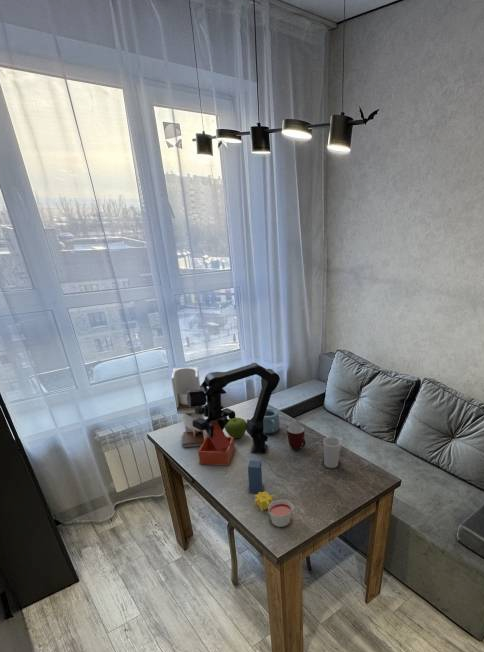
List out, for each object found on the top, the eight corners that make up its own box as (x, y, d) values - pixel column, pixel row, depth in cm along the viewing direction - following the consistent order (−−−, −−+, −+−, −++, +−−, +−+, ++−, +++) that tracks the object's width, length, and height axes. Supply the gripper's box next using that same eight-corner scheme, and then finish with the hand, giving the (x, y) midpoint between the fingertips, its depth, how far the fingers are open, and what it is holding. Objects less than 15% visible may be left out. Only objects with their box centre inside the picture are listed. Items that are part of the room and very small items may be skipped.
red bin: (207, 447, 187) (206, 435, 184) (234, 448, 188) (233, 436, 184) (199, 464, 176) (198, 451, 172) (228, 465, 176) (227, 452, 173)
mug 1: (285, 436, 199) (285, 418, 194) (264, 440, 195) (263, 422, 190) (275, 422, 211) (274, 406, 205) (255, 426, 206) (254, 409, 201)
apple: (250, 432, 201) (249, 415, 196) (242, 443, 192) (240, 425, 187) (230, 429, 203) (229, 412, 197) (221, 439, 194) (219, 422, 189)
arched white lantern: (184, 435, 196) (173, 368, 178) (206, 433, 198) (197, 367, 181) (183, 447, 186) (171, 378, 169) (206, 445, 189) (197, 376, 171)
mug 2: (311, 449, 190) (312, 431, 185) (300, 455, 185) (300, 437, 180) (295, 441, 196) (295, 423, 190) (283, 447, 190) (283, 429, 185)
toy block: (279, 508, 153) (278, 497, 150) (260, 515, 149) (259, 504, 146) (269, 496, 159) (269, 485, 156) (251, 503, 155) (250, 492, 152)
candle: (283, 532, 142) (283, 519, 139) (263, 522, 146) (263, 509, 143) (297, 518, 148) (298, 505, 145) (278, 509, 152) (278, 496, 149)
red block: (230, 444, 171) (216, 419, 171) (222, 448, 168) (207, 422, 168) (225, 448, 174) (211, 423, 174) (217, 452, 171) (203, 426, 171)
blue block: (251, 485, 164) (249, 460, 158) (262, 485, 164) (261, 461, 158) (249, 492, 160) (247, 467, 154) (260, 492, 160) (259, 467, 154)
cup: (338, 470, 176) (339, 447, 170) (320, 467, 177) (321, 444, 171) (341, 460, 183) (343, 438, 177) (324, 457, 184) (325, 435, 178)
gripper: (218, 392, 175) (219, 423, 183) (182, 403, 162) (185, 436, 169) (236, 399, 170) (236, 431, 178) (200, 412, 156) (202, 446, 164)
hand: (215, 436), depth 172 cm, fingers closed on red block, 4 cm apart
